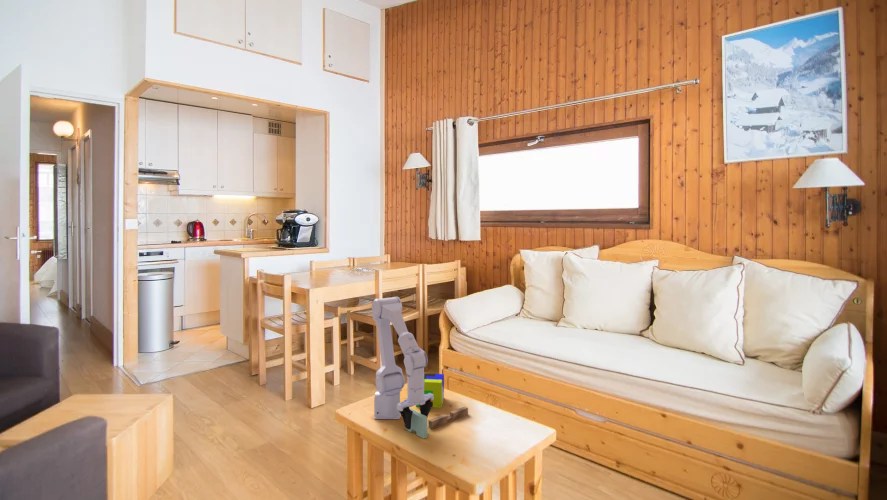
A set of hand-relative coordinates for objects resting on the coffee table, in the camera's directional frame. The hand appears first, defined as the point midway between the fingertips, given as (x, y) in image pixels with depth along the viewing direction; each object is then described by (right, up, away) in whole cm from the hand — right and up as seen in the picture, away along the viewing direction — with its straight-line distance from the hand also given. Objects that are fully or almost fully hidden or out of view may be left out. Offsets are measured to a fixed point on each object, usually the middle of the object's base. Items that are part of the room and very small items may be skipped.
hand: (415, 425), depth 159 cm
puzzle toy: (+4, -1, +27) cm, 27 cm away
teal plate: (0, -3, 0) cm, 3 cm away
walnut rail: (+11, -2, +10) cm, 15 cm away
